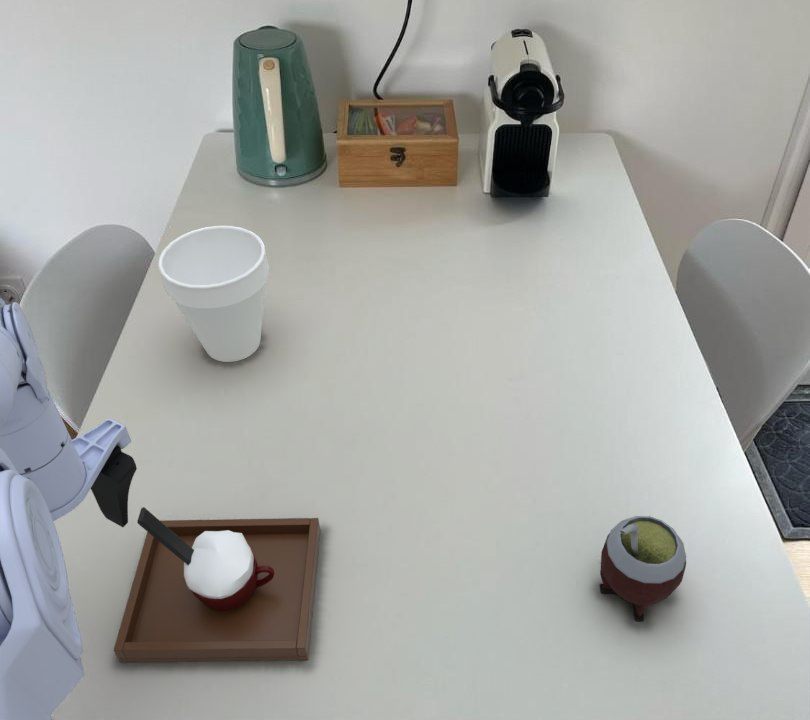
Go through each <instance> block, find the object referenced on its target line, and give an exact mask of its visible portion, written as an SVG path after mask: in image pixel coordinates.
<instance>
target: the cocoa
mask: <svg viewBox="0 0 810 720" xmlns="http://www.w3.org/2000/svg"><path fill="white" fill-rule="evenodd" d="M161 521H162V520H160V519H158V518H157V517H156V515H154V514H153V513H152V512H150V510H148V509H147V508H146V507H143V506H142V507H141V508H140V510H139V514H138V518H137V524H138V525H139V527H141V528H142V529H144V530H145V532H146V533H147V532H148V533H150V534H151V535H152V536H153V537H155V538H156V539H157V540H158V541H159V542H161V543H162V544H163V545H164V546H165V547H167V548H168V549H169V550H170V551H171V552H173V553H174V554H175V555H176V556H177V557H179V558H180V559H181V560H182V561H183V562H184V578H185V580H186V583H187V586H188V587H189V589H190V590H191V591H192V593H193V594H194V596H195V597H196V598H198V599H199V600H200V601H201V602H202V603H204V604H205V605H206V606H207V607H209V608H210V609H214V610H219V611H227V610H231V609H235V608H238V607H239V606H240V605H242V604H243V603H245V602H246V601H248V600H249V598H250V597H251V595H252V594H253V592H254V591H255V589H256V588H258V587H261V586H263V585H265V584H266V583H268V582H269V581H271V580H272V578H273V576H274V570H273V568H271V567H270V566H259V567H258V565H257V562H256V559H255V556H254V554H253V552H252V549H251V548H250V547H249V545H248V544H247V542H246V540H245V538H244V536H243V534H242V533H236V532H232V531H229V530H226V531H205V532H203V533H202V534H201V535H199V536H198V537H197V538H196V539H195V542H194V544H193V546H192V548H191V547H190V546H189V545H188V544H186V543H185V542H184V541H183V540H182V539H181V538H179V537H178V536H177V535H176V534H175V533H174V532H172V531H171V530H170V529H169V528H168V527H167V526H165V525H164V524H163V523H162V522H161ZM262 572H267V573H269V575H268V576H266V577H264V578H263V579H260V580H257V578H258V574H259V573H262Z"/></svg>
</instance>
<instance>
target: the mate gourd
mask: <svg viewBox="0 0 810 720" xmlns="http://www.w3.org/2000/svg"><path fill="white" fill-rule="evenodd" d="M600 554H601V555H600V570H599V572H600V578H601V582H602V583H599V592H600V594H604V595H618V596H619V597H620V598H622V599H623V600H624V601H626V602H629V603H631V609H632V614H633V619H634V622H638V623H639V622H644V620H645V614H644V612H645V611H646V610H647V609H648V607H649V606H652V605H655V604H657V603H659V602H662V601H664V600H666V599H667V598H668V597H670V595H671V594H672V593H674V591H676V589H678V587H679V586H680V585H681V583H682V582H683V579H684V575H685V571H686V567H687V554H686V549H685V545H684V542H683V540H682V538H680V536H679V535H678V533H677V532H676V530H675V529H674V528H673V527H672V526H671V525H670V524H668V523H666V522H665V521H664V520H662V519H659V518H656V517H654V516H651V515H634V516H633V517H629V518H626V519H622V520H620V522H618V523H617V524H616V525H615V526H614V527H613V528H611V529H610V532H609V533H608V534H607V536H606V539H605V541H604V545H603V547H602V550H601V553H600Z"/></svg>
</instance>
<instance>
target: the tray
mask: <svg viewBox="0 0 810 720" xmlns="http://www.w3.org/2000/svg"><path fill="white" fill-rule="evenodd" d="M319 519H320V518H319V517H293V518H292V517H290V518H285V517H284V518H283V517H282V518H238V519H237V518H235V519H234V518H232V519H231V518H229V519H227V518H226V519H175V520H173V519H172V520H171V519H170V520H167V519H166V520H165V519H164V520H160V521H161V522H162V523H163V524H164V525H165V526H167V527H168V528H169V529H170V530H171V531H172V532H174V533H175V534H176V535H177V536H178V537H179V538H181V539H182V540H183V541H184V542H185V543H186V544H188V545H189V546H190V547H191V548H192V546H193V544H194V542H195V539H196V538H197V537H198V536H199V535H201V534H202V533H203V532H205V531H226V530H229V531H232V532H236V533H242V534H243V536H244V538H245V540H246V542H247V544H248V545H249V547H250V548H251V549H252V552H253V554H254V556H255V559H256V562H257V565H258V567H259V566H270V567H271V568H273V570H274V576H273V578H272V580H271V581H269V582H268V583H266V584H265V585H263V586H261V587H258V588H256V589H255V591H254V592H253V594H252V595H251V597H250V598H249V600H248V601H246V602H245V603H243V604H242V605H240V606H239V607H238V608H235V609H231V610H227V611H219V610H214V609H210V608H209V607H207V606H206V605H205V604H204V603H202V602H201V601H200V600H199V599H198V598H196V597H195V596H194V594H193V593H192V591H191V590H190V589H189V587H188V586H187V583H186V580H185V578H184V562H183V561H182V560H181V559H180V558H179V557H177V556H176V555H175V554H174V553H173V552H171V551H170V550H169V549H168V548H167V547H165V546H164V545H163V544H162V543H161V542H159V541H158V540H157V539H156V538H155V537H153V536H152V535H151V534H150V533H148V532H147V531H146V535H145V539H144V542H143V545H142V548H141V553H140V556H139V559H138V563H137V568H136V571H135V575H134V576H133V581H132V583H131V588H130V591H129V596H128V598H127V602H126V605H125V609H124V613H123V615H122V619H121V623H120V627H119V630H118V634H117V637H116V640H115V644H114V647H113V652H114V655H115V656H116V658H117V660H118V662H119V663H153V662H154V663H159V662H162V663H163V662H164V663H165V662H166V663H167V662H172V663H173V662H232V661H233V662H242V661H243V662H244V661H245V662H246V661H248V662H249V661H250V662H251V661H253V662H254V661H308V660H309V653H310V643H311V632H312V622H313V612H314V601H315V592H316V584H317V583H316V582H317V572H318V562H319V561H318V560H319V553H320V552H319V551H320V541H321V532H322V531H321V526H320V520H319ZM268 575H269V573H267V572H262V573H259V574H258V578H257V580H260V579H263V578H264V577H266V576H268Z"/></svg>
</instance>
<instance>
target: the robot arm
mask: <svg viewBox="0 0 810 720" xmlns="http://www.w3.org/2000/svg"><path fill="white" fill-rule="evenodd" d="M39 354H40V353H39V349H38V345H37V342H36V339H35V335H34V332H33V330H32V328H31V325H30V322H29V320H28V318H27V316H26V313H25V311H24V310H23V309H22V307H21V305H20V304H19V303H18V302H16V301H14V302H12V304H11V303H9V304H6V302H5V301H4V300H3V298H2V297H0V720H55V719H54V718H53V717H52V715H53V714H54V712H55V711H56V710H58V708H59V707H60V705H61V704H62V703H63V702H64V701H65V699H66V698H67V697H68V696H69V695H70V694H71V693H72V691H73V690H75V688H76V687H77V686H78V684H79V683H80V682H81V681H82V679H84V676H85V669H84V665H83V660H82V658H81V656H82V654H83V652H84V651H83V650H84V646H83V639H82V634H81V631H80V627H79V623H78V619H77V614H76V611H75V606H74V603H73V599H72V594H71V591H70V585H69V578H68V570H67V565H66V561H65V555H64V551H63V547H62V545H61V541H60V537H59V533H58V531H57V528H56V524H55V522H56V521H57V520H58V519H60V518H62V517H64V516H66V515H68V514H69V513H70V512H72V511H73V510H75V509H76V508H78V507H79V505H80V504H81V503H82V502H83V501H84V500H85V498H86V497H87V496H88V495H89V494H88V493H89V492H90V490H91V492H92V494H93V497H94V499H95V501H96V503H97V506H98V508H99V510H100V512H101V513H102V515H103V516H104V517H105V519H106V520H108V521H110V522H112V523H114V524H116V525H117V526H119V527H120V528H124V527H125V526H126V525H127V524H128V523H129V493H130V489H131V488H130V487H131V484H132V481H133V478H134V476H135V474H136V471H137V469H138V468H137V464H136V461H135V459H134V457H133V456H131V455H129V454H128V453H126V452H123V451H122V450H124V449H125V448H127V447H128V445H130V444H131V443H132V439H131V436H130V434H129V431H128V429H127V426H126V425H125V424H123V423H120V422H118V421H116V420H114V419H112V418H109V417H107V418H106V419H105V420H103V421H102V422H101V423H99V424H98V425H97V426H94V428H91V429H90V430H88V431H85V433H82V434H81V435H79V436H77V437H74V438H73V439H72V437H71V435H70V433H69V431H68V429H67V427H66V424H65V422H64V420H63V418H62V416H61V414H60V412H59V409H58V408H57V405H56V402H55V401H54V399H53V396H52V394H51V392H50V390H49V388H48V381H47V373H46V371H45V369H44V365H43V363H42V360H41V358H40V355H39Z"/></svg>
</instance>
